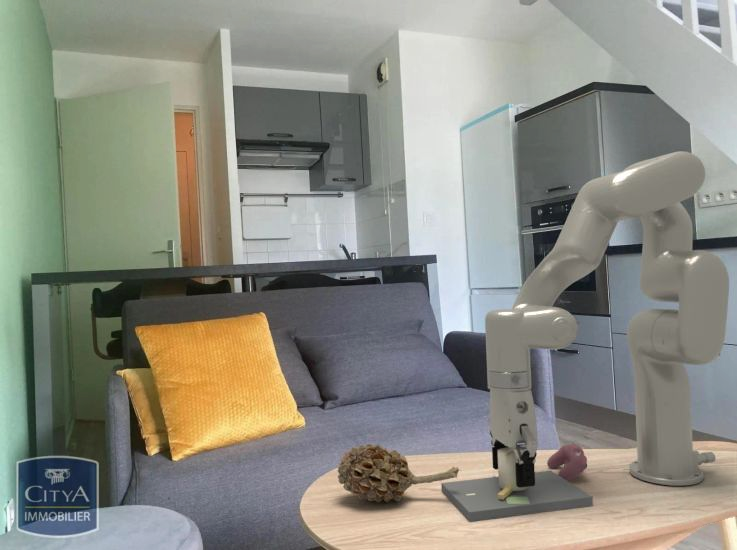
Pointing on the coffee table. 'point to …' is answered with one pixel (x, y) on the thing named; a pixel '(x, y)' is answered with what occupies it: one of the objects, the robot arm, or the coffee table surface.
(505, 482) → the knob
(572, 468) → the video game controller
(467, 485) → the dial board
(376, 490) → the pine cone
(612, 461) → the coffee table surface
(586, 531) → the coffee table surface
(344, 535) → the coffee table surface
